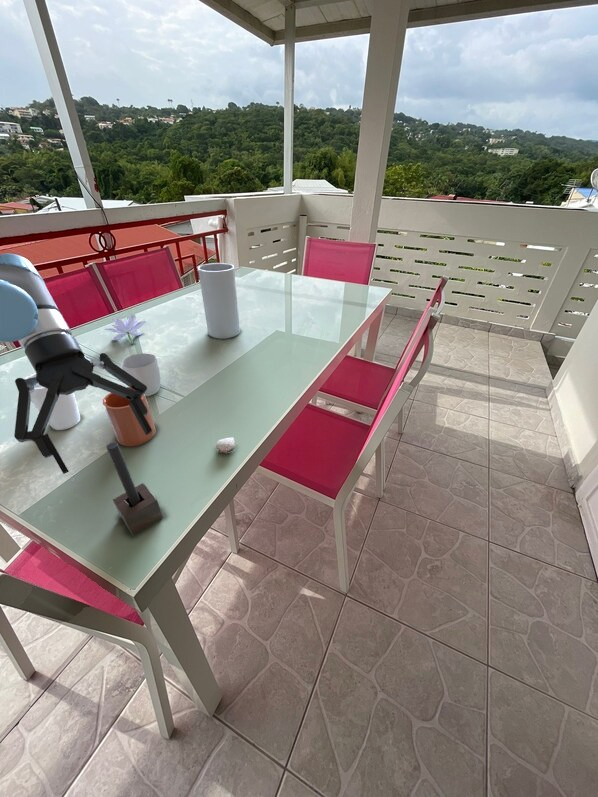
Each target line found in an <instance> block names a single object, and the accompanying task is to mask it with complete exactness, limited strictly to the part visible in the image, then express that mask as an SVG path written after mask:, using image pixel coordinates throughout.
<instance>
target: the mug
mask: <svg viewBox="0 0 598 797" xmlns="http://www.w3.org/2000/svg"><path fill="white" fill-rule="evenodd" d="M120 365H121V369H123V370H124V371H126V372H127V373H129V374H130V375H131V376H133V377H134V378H136V379H137V380H139V381H140V382H141V383H143V384H144V385H146V386H147V390H146V392H145V395H146V397H151V396H153V395H156V394H157V393H158V392H159V391H160V389H161V383H162V381H161V379H162V378H161V371H160V370H161V369H160V366H159V363H158V358H157V357H156V356H155V355H154V354H152V353H145V352H144V353H135V354H132V355H129V356H127V357H125V358H124V359H123V360H122V361H121V364H120Z"/></svg>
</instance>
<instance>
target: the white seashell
mask: <svg viewBox="0 0 598 797" xmlns="http://www.w3.org/2000/svg"><path fill="white" fill-rule="evenodd" d="M235 447H236V441H235V438H234V437H226V438H221V439H219V440H217V442H216V443H215V448H216V451H218V452H219V453H221V454H230V453H232V452H233V451H234V449H235Z"/></svg>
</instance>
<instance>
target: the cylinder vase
mask: <svg viewBox="0 0 598 797" xmlns="http://www.w3.org/2000/svg"><path fill="white" fill-rule="evenodd" d="M197 271H198V278H199V284H200V290H201V297H202V304H203V309H204V316H205V322H206V329H207V334H208V335H209V336H210V337H211V338H214V339H221V340H225V339H231V338H234V337H237V336H238V335H239V334H240V332H241V326H240V315H239V306H238V294H237V285H236V274H235V266H234V265H233V264H231V263H225V262H213V263H205V264H201V265H199V266H198V267H197Z"/></svg>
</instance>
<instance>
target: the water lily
mask: <svg viewBox="0 0 598 797" xmlns="http://www.w3.org/2000/svg"><path fill="white" fill-rule="evenodd" d="M136 319H137V316H136V314H131V316H130V317H128V318H127V319H126V321H124V320H123V319H122V318H121V317H118V318H113V319H112V322H113V323H114V324H112V325H111V326H112V327H113V328H111V327H110V328H105V329H104V330H105V331H107V332H111V333H117V334H116V336H113V338H112V341H118V340H121V339H123V338H124V337H125V336H126V335H127V336H128V339H129V341H130V344H131V345H134V341H133V339H132V338H131V337H132V336H141V335H142V334H143V332H142V331H137V330H139V329H140V328H142V327H143V326H144V325H145V324H146V323H147V320H142V321H139V320H136ZM138 321H139V322H138Z"/></svg>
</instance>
